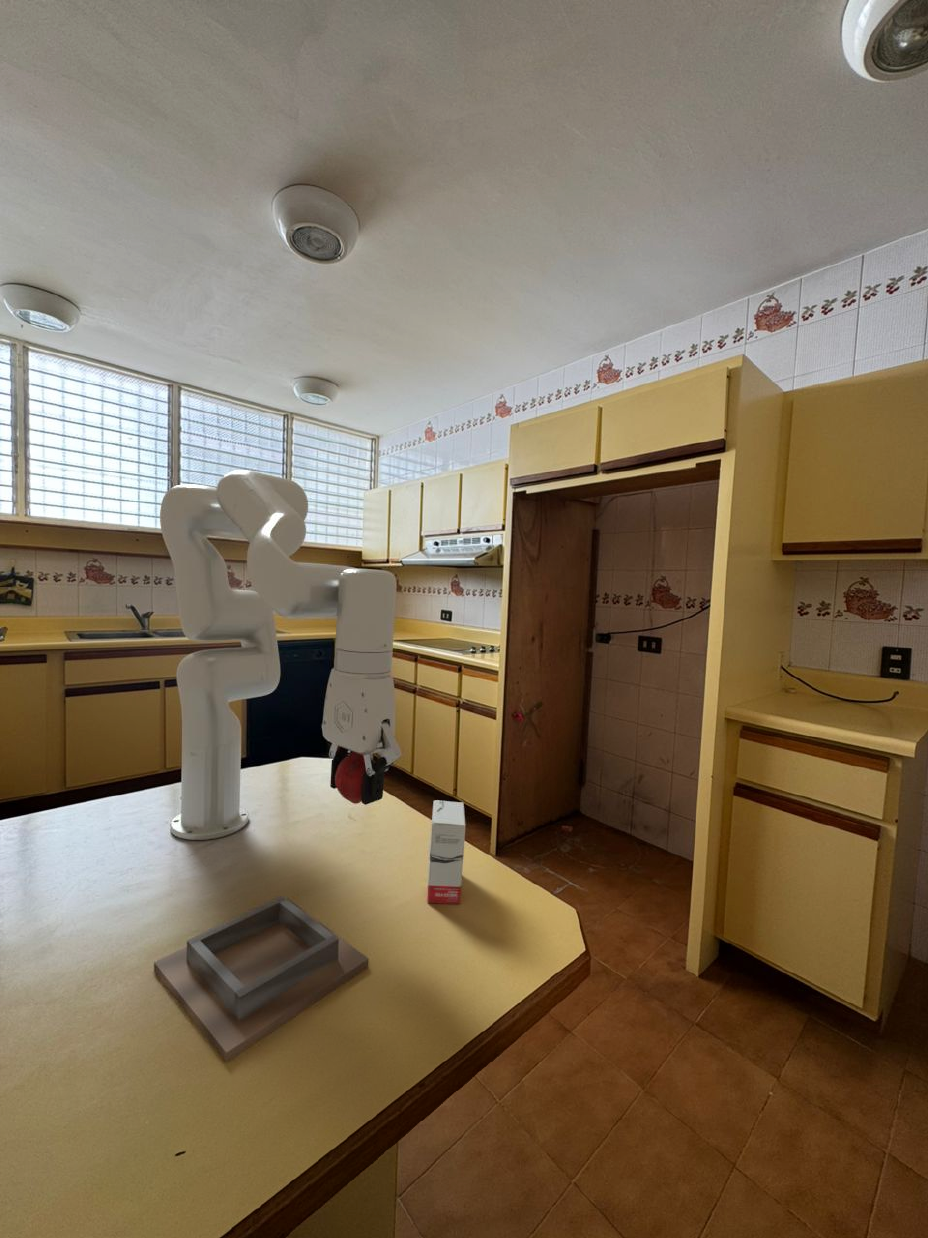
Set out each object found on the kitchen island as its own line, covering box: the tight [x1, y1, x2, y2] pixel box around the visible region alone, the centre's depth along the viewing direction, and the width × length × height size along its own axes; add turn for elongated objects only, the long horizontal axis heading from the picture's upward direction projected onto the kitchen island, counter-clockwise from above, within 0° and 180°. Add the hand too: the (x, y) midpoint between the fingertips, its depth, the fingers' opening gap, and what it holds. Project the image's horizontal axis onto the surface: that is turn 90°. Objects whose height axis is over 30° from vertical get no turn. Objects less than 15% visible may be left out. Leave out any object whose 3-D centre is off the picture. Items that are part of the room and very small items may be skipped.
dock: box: [153, 895, 369, 1063], centre depth 61 cm, size 17×17×4 cm
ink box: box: [426, 799, 466, 905], centre depth 79 cm, size 8×5×12 cm, turn 2°
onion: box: [335, 751, 376, 805], centre depth 72 cm, size 6×6×8 cm
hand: (356, 792), depth 72 cm, fingers closed on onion, 5 cm apart
